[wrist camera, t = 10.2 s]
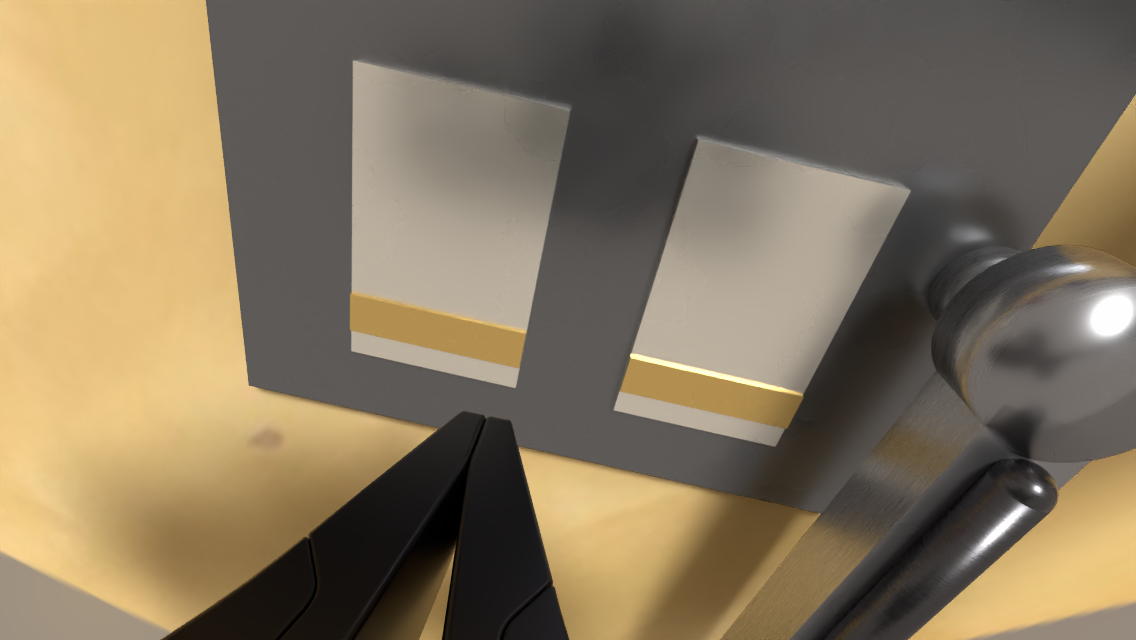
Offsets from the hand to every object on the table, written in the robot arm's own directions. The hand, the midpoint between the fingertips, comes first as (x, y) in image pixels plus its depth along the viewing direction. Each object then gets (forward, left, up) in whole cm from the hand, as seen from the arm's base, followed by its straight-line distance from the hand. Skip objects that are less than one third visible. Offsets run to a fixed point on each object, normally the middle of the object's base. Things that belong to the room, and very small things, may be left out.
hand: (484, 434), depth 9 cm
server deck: (-1, -2, -7) cm, 8 cm away
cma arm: (-10, +6, -4) cm, 12 cm away
